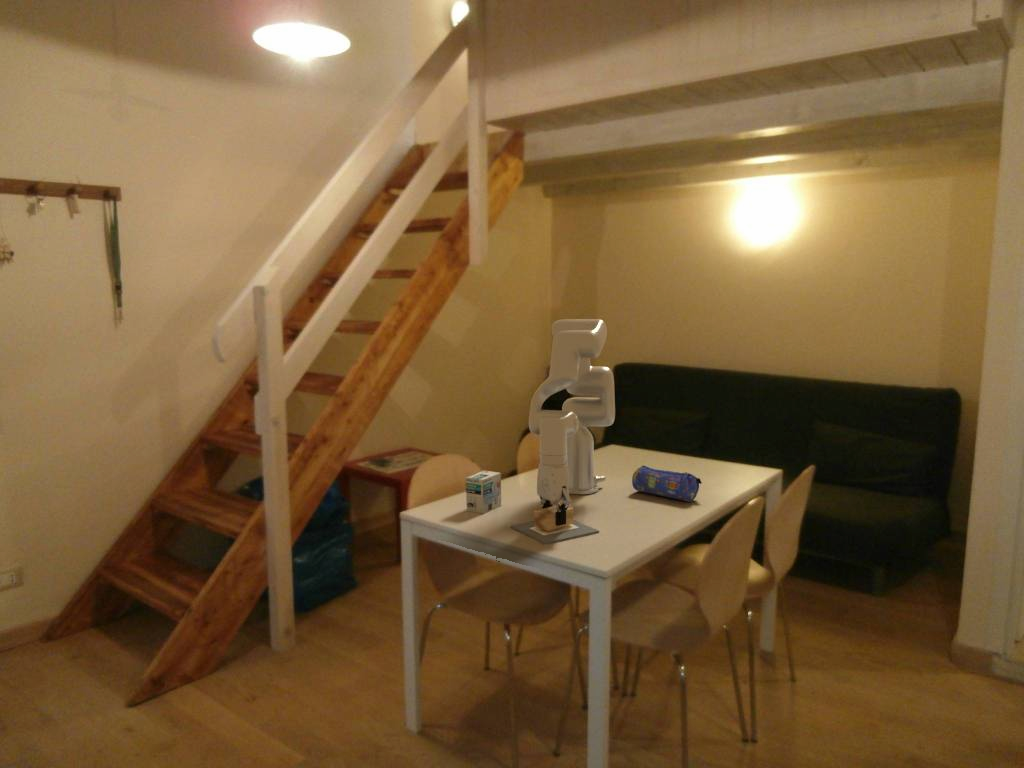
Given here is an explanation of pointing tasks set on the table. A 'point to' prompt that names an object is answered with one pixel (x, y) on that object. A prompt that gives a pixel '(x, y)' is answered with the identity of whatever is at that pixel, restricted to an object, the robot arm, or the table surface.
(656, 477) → the pencil case
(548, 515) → the tan rectangular block
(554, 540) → the mat
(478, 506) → the light bulb box
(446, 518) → the table surface
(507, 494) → the table surface
